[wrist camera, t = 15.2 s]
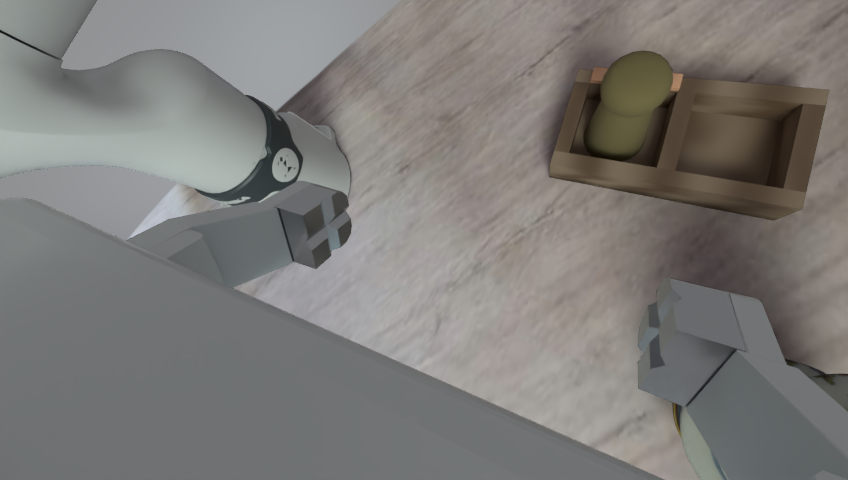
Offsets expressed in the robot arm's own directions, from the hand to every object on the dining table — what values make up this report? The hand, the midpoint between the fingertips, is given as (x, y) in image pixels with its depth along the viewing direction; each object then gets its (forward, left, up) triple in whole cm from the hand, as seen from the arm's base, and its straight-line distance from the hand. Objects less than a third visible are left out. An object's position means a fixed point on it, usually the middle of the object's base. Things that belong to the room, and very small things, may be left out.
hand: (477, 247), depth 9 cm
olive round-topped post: (+4, +19, -31) cm, 37 cm away
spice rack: (+9, +19, -31) cm, 38 cm away
